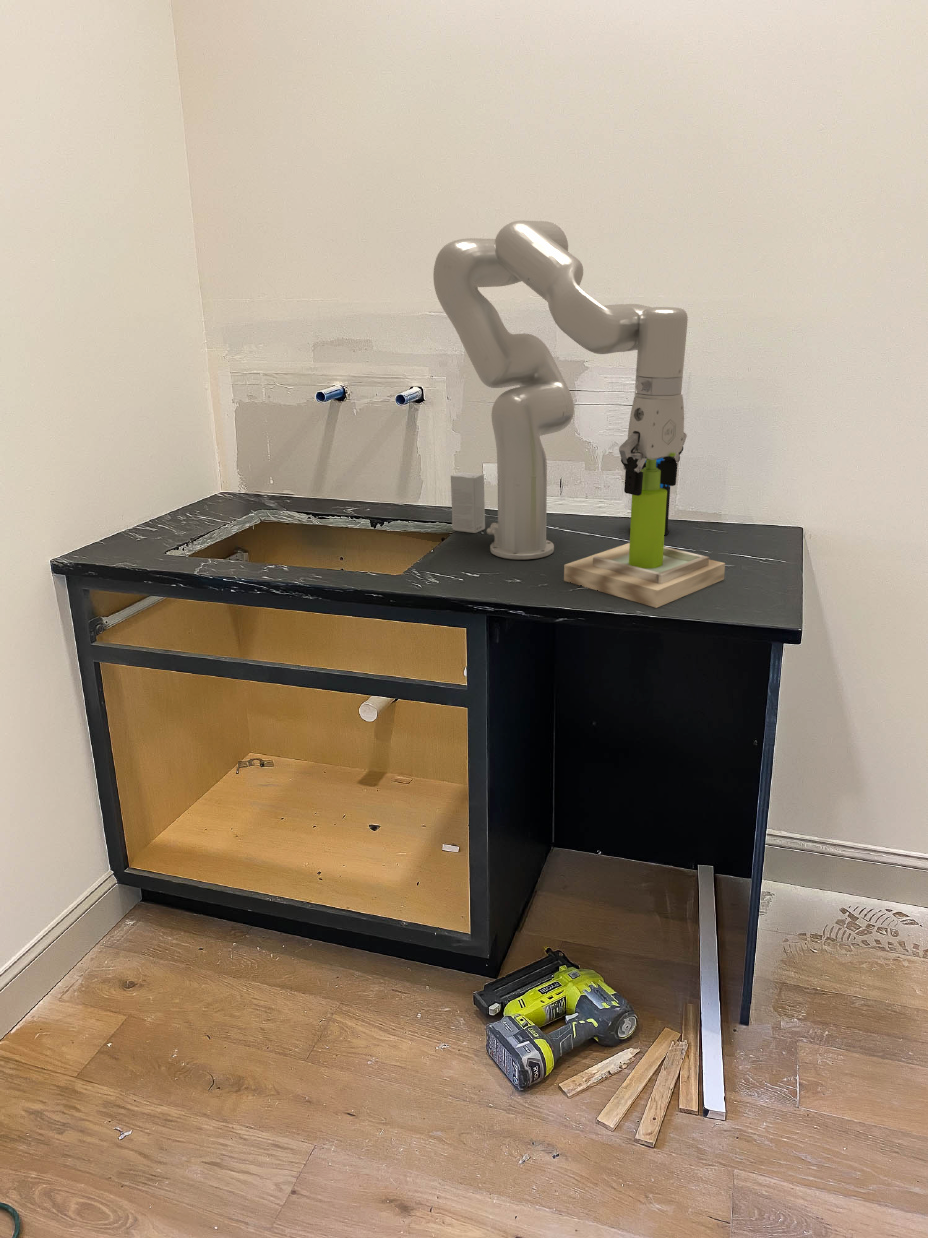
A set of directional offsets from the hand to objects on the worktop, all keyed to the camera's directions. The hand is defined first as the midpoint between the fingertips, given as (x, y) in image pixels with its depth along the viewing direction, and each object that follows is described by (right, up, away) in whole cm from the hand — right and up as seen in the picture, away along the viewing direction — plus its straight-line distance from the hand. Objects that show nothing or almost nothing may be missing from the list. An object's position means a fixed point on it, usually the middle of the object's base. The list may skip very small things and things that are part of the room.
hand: (650, 489), depth 154 cm
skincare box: (-31, -3, +40) cm, 51 cm away
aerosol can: (+7, -4, +35) cm, 36 cm away
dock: (0, -15, +6) cm, 17 cm away
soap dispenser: (+1, -13, +5) cm, 14 cm away
